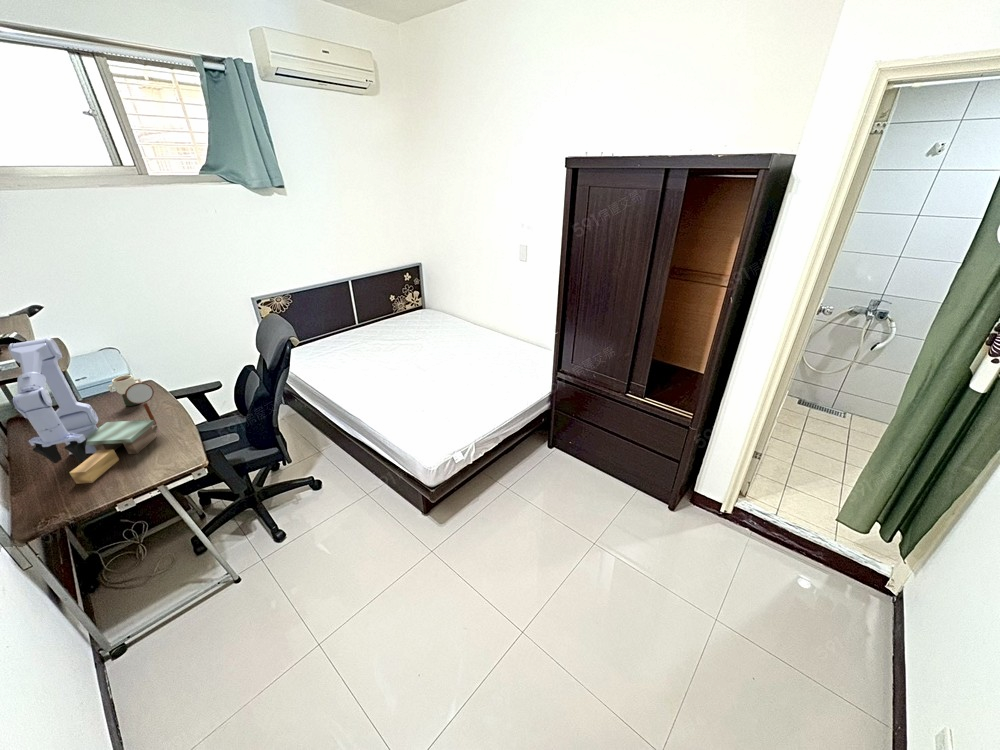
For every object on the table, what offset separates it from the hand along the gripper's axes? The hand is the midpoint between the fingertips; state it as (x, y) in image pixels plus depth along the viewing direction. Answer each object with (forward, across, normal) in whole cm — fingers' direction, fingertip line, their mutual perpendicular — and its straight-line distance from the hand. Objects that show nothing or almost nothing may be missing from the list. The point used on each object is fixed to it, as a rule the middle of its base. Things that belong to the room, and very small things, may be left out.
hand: (70, 460), depth 129 cm
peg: (+10, 0, +6) cm, 11 cm away
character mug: (+9, -21, +54) cm, 58 cm away
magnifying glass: (+10, +1, +34) cm, 35 cm away
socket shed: (+10, 0, +20) cm, 22 cm away
